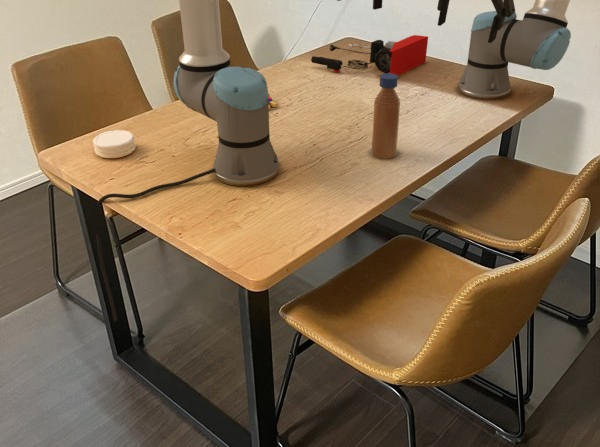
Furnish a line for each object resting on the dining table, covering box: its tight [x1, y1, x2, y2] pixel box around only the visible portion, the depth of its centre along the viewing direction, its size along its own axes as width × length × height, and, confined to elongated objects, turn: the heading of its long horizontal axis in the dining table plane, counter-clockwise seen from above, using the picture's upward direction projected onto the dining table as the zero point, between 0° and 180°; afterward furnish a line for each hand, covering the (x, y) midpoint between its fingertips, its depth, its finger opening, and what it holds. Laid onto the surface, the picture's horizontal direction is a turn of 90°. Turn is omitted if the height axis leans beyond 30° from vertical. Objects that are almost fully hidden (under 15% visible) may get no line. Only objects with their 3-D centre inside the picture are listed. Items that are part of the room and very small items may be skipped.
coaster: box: [92, 129, 137, 159], centre depth 155 cm, size 10×10×4 cm
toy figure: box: [268, 93, 278, 110], centre depth 181 cm, size 2×7×12 cm
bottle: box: [371, 87, 401, 160], centre depth 148 cm, size 6×6×19 cm
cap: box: [379, 73, 399, 89], centre depth 143 cm, size 4×4×2 cm
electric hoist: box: [310, 34, 429, 77], centre depth 208 cm, size 10×27×30 cm
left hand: (358, 4), depth 166 cm, fingers open, 13 cm apart
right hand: (465, 32), depth 152 cm, fingers open, 13 cm apart
